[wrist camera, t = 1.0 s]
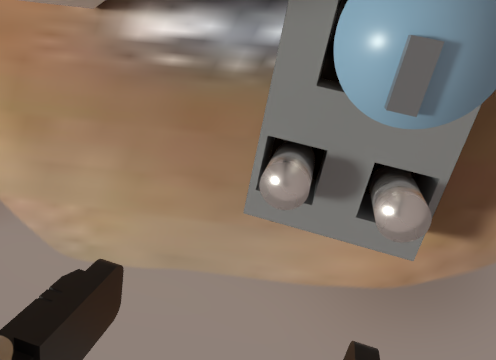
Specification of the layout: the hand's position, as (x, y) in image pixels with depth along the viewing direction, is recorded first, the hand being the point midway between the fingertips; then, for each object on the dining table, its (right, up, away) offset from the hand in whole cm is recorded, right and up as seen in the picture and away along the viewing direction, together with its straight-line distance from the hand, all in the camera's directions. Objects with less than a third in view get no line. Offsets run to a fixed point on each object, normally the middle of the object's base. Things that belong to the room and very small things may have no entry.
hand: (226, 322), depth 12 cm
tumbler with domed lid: (+10, +14, +14) cm, 22 cm away
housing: (+9, +10, +16) cm, 21 cm away
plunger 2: (+11, +4, +15) cm, 19 cm away
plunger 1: (+4, +6, +16) cm, 17 cm away
